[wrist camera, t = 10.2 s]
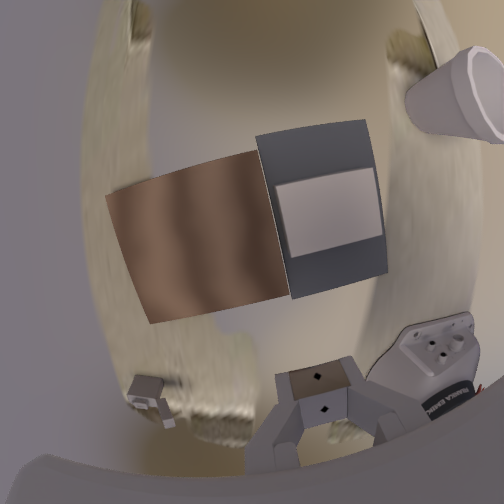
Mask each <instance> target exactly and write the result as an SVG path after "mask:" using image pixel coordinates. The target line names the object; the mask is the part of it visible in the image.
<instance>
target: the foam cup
mask: <svg viewBox="0 0 504 504" xmlns="http://www.w3.org/2000/svg"><path fill="white" fill-rule="evenodd" d="M405 106H406V111H407V114H408V116H409V117H410V119H411V121H412V123H413V124H414V125H415V126H416V127H417V128H418V129H419V130H421V131H423V132H426V133H431V134H439V135H448V136H457V137H464V138H471V139H477V140H483V141H487V142H489V143H490V144H504V65H503V64H502V62H501V61H500V60H499V58H498V57H496V55H494V54H493V53H492V52H491V51H489V50H488V49H487V48H485V47H480V46H472V47H470V48H467V49H465V50H462V51H460V52H459V53H458V54H457V55H456V56H455V57H454V58H453V59H451V60H450V61H448V62H447V63H445V64H444V65H442V66H441V67H439V68H438V69H436V70H435V71H434V72H432V73H431V74H429V75H428V76H426V77H425V78H423V79H422V80H421V81H419V82H418V83H416V84H415V85H414V86H413V87H411V88H410V89H409V90H408V91H407V93H406V98H405Z"/></svg>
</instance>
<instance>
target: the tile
mask: <svg viewBox="0 0 504 504" xmlns="http://www.w3.org/2000/svg"><path fill="white" fill-rule="evenodd" d="M273 188H274V193H275V197H276V201H277V206H278V210H279V214H280V219H281V223H282V228H283V233H284V237H285V242H286V247H287V251H288V253H289V254H290V256H291V258H293V257H297V256H301V255H305V254H309V253H313V252H317V251H321V250H325V249H329V248H333V247H337V246H341V245H345V244H348V243H352V242H356V241H360V240H364V239H368V238H372V237H375V236H379V235H382V226H381V218H380V210H379V202H378V196H377V189H376V183H375V177H374V172H373V168H357V169H351V170H346V171H340V172H335V173H329V174H324V175H319V176H314V177H309V178H304V179H300V180H295V181H290V182H286V183H281V184H277V185H273Z"/></svg>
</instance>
